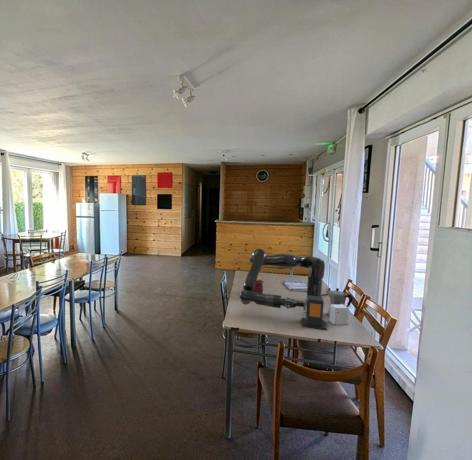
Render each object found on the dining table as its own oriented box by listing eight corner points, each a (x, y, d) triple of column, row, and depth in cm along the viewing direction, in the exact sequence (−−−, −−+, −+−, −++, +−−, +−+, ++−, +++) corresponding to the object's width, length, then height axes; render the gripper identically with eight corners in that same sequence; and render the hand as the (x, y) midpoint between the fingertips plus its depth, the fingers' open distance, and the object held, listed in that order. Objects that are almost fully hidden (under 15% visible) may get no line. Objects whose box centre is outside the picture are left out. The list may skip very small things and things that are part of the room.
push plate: (303, 307, 176) (303, 298, 175) (304, 307, 175) (305, 299, 175) (303, 310, 170) (304, 302, 169) (305, 311, 169) (305, 302, 169)
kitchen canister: (256, 300, 212) (257, 276, 211) (241, 296, 222) (242, 273, 220) (266, 296, 221) (267, 274, 219) (251, 292, 230) (252, 270, 229)
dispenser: (301, 318, 179) (303, 293, 178) (323, 322, 175) (325, 296, 173) (302, 326, 168) (304, 299, 166) (326, 330, 164) (327, 302, 162)
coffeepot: (321, 314, 186) (323, 287, 184) (327, 311, 193) (328, 284, 191) (348, 322, 175) (351, 293, 173) (353, 318, 181) (355, 289, 180)
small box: (341, 321, 177) (343, 304, 176) (347, 324, 171) (349, 307, 170) (329, 321, 176) (330, 304, 175) (334, 324, 171) (335, 307, 170)
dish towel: (290, 290, 236) (290, 287, 236) (282, 282, 260) (282, 279, 259) (312, 291, 235) (312, 288, 234) (302, 283, 258) (302, 280, 258)
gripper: (272, 298, 172) (304, 302, 166) (273, 291, 185) (303, 295, 178) (271, 310, 173) (303, 314, 167) (272, 303, 185) (302, 307, 179)
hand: (303, 304), depth 173 cm, fingers closed
